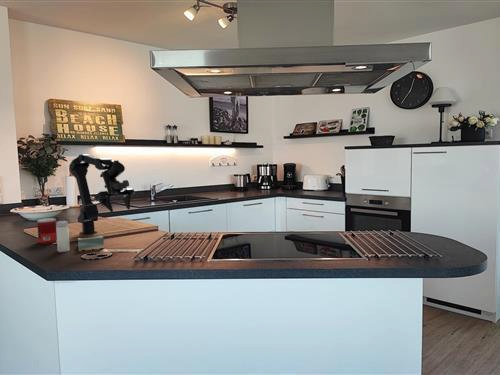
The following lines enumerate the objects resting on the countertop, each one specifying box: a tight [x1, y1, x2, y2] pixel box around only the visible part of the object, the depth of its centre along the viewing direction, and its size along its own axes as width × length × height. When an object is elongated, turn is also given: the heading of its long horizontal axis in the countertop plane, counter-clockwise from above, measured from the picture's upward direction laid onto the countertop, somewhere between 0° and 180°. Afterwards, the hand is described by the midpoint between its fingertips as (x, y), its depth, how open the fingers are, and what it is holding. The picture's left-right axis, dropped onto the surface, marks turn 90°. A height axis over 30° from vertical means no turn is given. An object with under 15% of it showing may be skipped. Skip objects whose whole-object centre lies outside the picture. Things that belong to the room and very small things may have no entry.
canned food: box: [36, 217, 57, 245], centre depth 181 cm, size 8×8×11 cm
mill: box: [56, 220, 71, 253], centre depth 165 cm, size 5×5×13 cm
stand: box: [77, 235, 105, 252], centre depth 171 cm, size 11×10×5 cm
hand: (120, 210), depth 180 cm, fingers open, 9 cm apart
